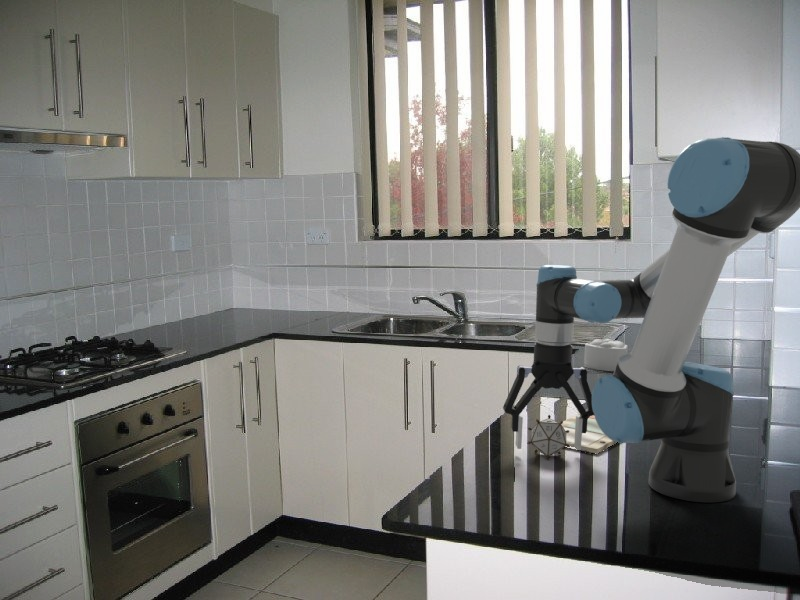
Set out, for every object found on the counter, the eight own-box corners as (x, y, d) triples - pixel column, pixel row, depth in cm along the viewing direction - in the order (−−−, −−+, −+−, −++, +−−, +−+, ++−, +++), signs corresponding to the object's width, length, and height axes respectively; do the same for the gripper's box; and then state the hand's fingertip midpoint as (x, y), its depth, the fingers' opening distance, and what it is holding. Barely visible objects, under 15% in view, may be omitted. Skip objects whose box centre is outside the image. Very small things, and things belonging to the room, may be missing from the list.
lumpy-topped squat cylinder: (625, 372, 260) (626, 344, 258) (582, 368, 263) (583, 341, 262) (626, 366, 269) (628, 339, 268) (585, 362, 273) (587, 336, 272)
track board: (596, 454, 173) (597, 448, 173) (531, 440, 182) (531, 435, 182) (655, 421, 201) (655, 416, 201) (596, 410, 210) (596, 405, 210)
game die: (542, 470, 174) (544, 425, 179) (578, 464, 169) (579, 418, 174) (517, 456, 169) (519, 410, 174) (553, 449, 163) (554, 402, 168)
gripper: (607, 340, 173) (601, 443, 175) (492, 337, 172) (487, 440, 175) (617, 347, 165) (610, 454, 168) (496, 343, 165) (492, 451, 168)
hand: (547, 447), depth 172 cm, fingers open, 11 cm apart
